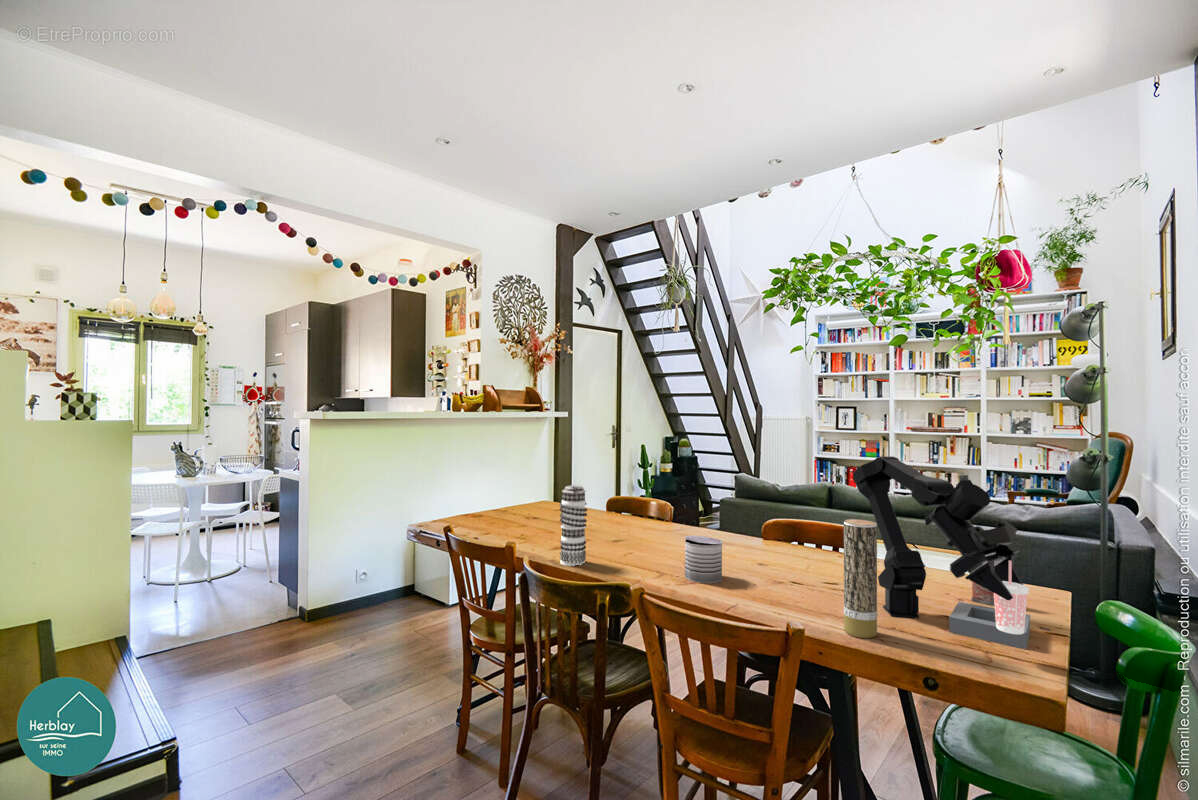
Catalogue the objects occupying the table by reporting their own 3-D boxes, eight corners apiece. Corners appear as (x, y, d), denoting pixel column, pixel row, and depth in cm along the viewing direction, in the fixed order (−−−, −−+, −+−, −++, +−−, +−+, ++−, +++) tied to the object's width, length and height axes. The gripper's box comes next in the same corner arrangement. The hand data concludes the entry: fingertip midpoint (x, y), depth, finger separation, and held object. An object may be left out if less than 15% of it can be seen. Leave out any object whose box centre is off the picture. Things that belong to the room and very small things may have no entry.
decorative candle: (557, 559, 187) (558, 484, 188) (584, 558, 189) (585, 484, 190) (560, 566, 178) (561, 488, 179) (589, 565, 180) (589, 487, 181)
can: (681, 572, 174) (681, 533, 174) (717, 572, 174) (717, 533, 174) (688, 583, 162) (688, 542, 162) (727, 583, 163) (727, 542, 163)
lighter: (1009, 606, 146) (1009, 567, 146) (1007, 609, 143) (1006, 569, 143) (973, 598, 151) (972, 561, 152) (970, 601, 149) (969, 563, 149)
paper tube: (867, 627, 130) (867, 519, 130) (883, 639, 123) (882, 525, 123) (838, 627, 129) (838, 519, 130) (852, 639, 123) (852, 525, 123)
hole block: (1026, 649, 118) (1026, 632, 118) (949, 632, 127) (949, 616, 127) (1030, 630, 129) (1030, 615, 129) (958, 615, 138) (958, 601, 138)
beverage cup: (1020, 625, 115) (1020, 557, 116) (1034, 637, 110) (1034, 566, 110) (986, 622, 117) (986, 555, 117) (998, 633, 111) (998, 563, 111)
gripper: (966, 512, 112) (1032, 583, 102) (1008, 505, 122) (1071, 568, 112) (926, 543, 118) (983, 612, 109) (969, 533, 128) (1025, 596, 119)
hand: (1018, 596), depth 112 cm, fingers closed on beverage cup, 6 cm apart
